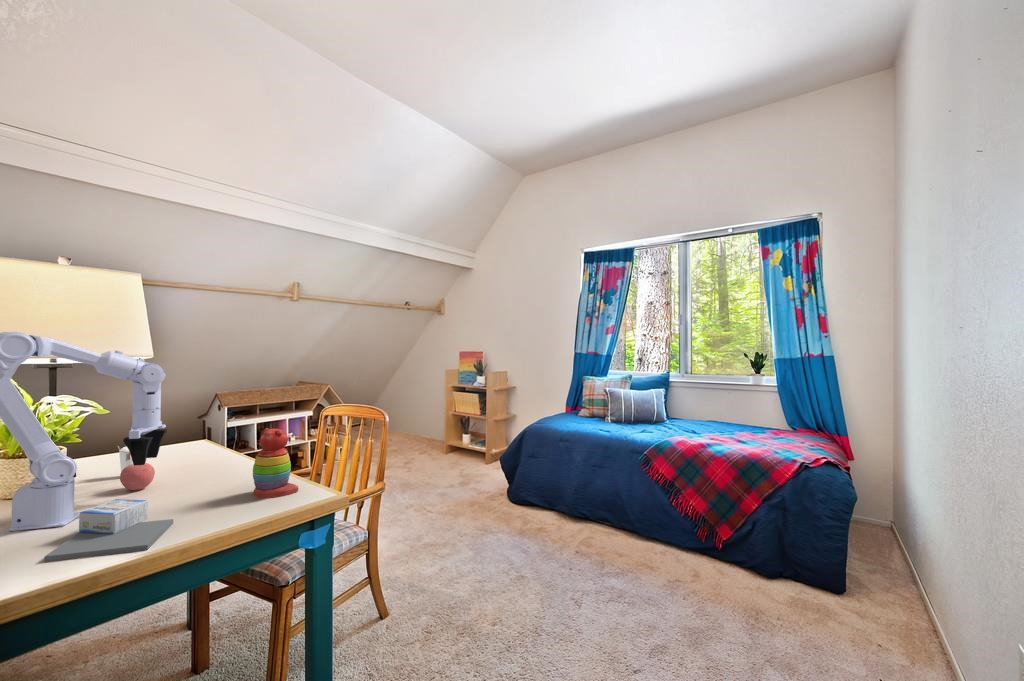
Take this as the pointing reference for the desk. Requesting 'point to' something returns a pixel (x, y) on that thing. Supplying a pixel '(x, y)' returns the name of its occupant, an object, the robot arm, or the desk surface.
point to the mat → (111, 541)
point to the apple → (137, 476)
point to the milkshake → (125, 457)
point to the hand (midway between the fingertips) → (145, 461)
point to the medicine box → (113, 516)
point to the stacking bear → (272, 466)
